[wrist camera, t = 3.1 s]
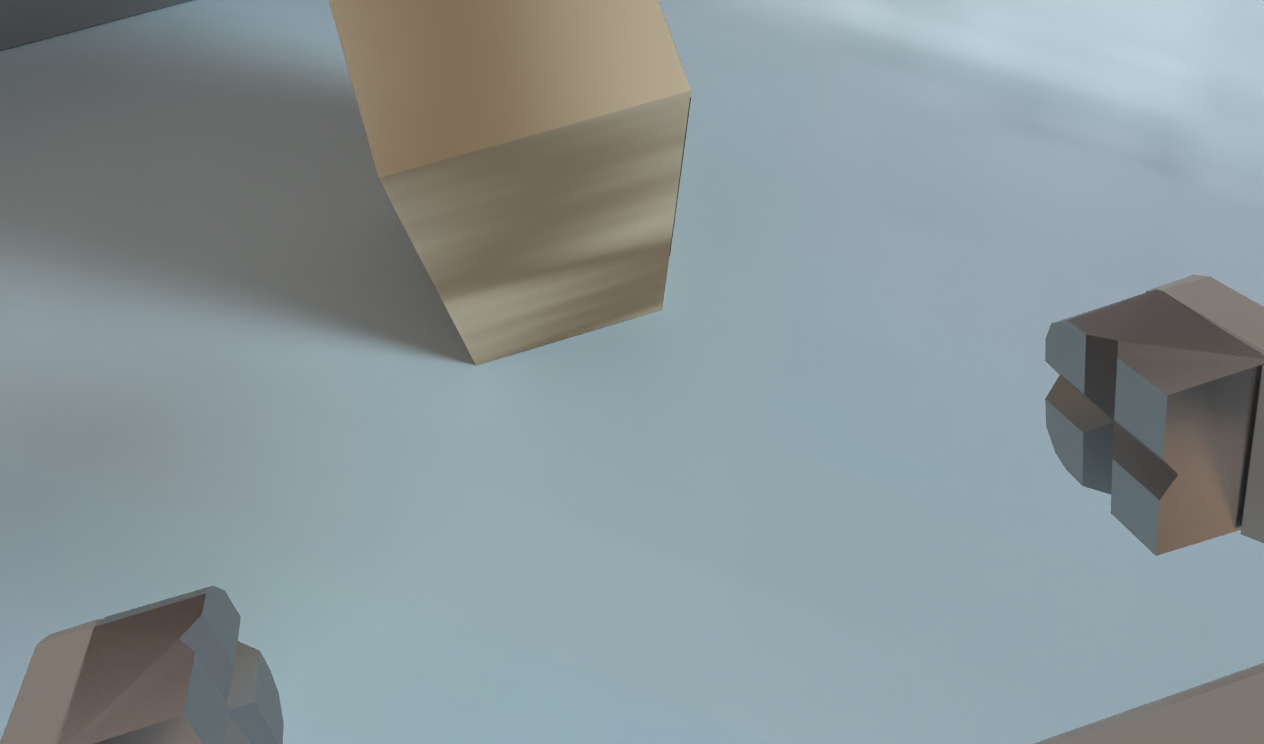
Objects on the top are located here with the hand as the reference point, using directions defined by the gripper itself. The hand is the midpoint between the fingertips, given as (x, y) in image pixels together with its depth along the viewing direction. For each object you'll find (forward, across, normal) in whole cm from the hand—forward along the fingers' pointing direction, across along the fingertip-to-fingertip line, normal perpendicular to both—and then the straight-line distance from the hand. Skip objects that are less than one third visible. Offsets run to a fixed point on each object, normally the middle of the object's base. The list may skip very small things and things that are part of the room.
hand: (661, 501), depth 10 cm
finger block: (+12, 0, +3) cm, 13 cm away
